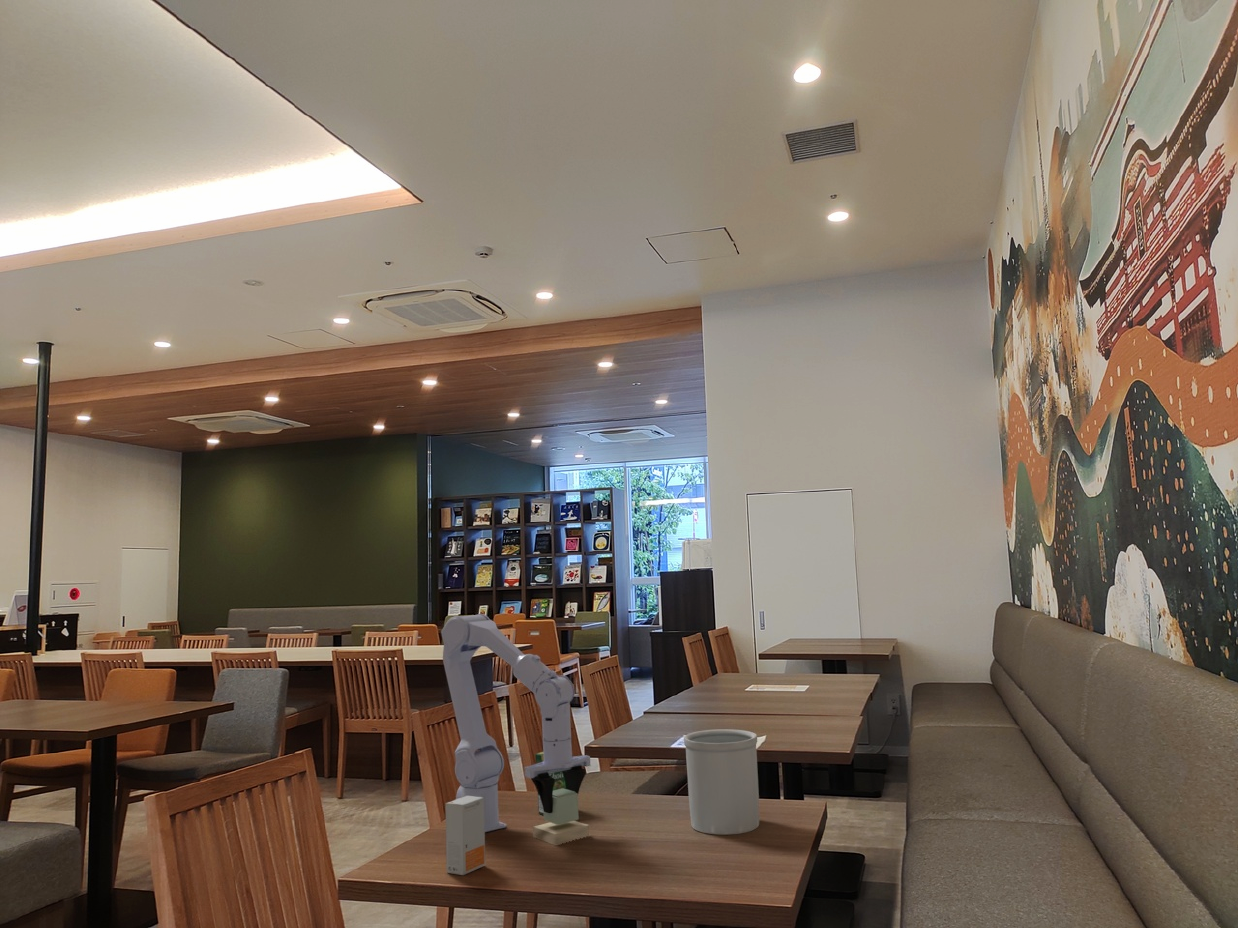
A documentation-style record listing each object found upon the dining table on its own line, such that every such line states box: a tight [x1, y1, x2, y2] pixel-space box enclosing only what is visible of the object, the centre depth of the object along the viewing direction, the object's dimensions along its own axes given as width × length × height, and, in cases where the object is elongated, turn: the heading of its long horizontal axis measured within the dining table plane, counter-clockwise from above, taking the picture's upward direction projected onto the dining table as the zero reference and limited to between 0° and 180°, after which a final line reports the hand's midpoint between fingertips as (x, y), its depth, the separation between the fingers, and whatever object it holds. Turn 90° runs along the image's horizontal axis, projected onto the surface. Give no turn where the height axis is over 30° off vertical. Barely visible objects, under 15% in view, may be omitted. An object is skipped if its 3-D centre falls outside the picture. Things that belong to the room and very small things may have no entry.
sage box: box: [543, 788, 580, 825], centre depth 174 cm, size 5×5×5 cm
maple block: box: [532, 820, 590, 846], centre depth 174 cm, size 8×8×2 cm
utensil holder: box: [683, 728, 760, 836], centre depth 176 cm, size 15×15×18 cm
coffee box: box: [535, 751, 566, 816], centre depth 194 cm, size 8×3×13 cm, turn 125°
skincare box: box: [444, 796, 486, 876], centre depth 157 cm, size 6×4×12 cm
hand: (560, 809), depth 174 cm, fingers open, 5 cm apart
